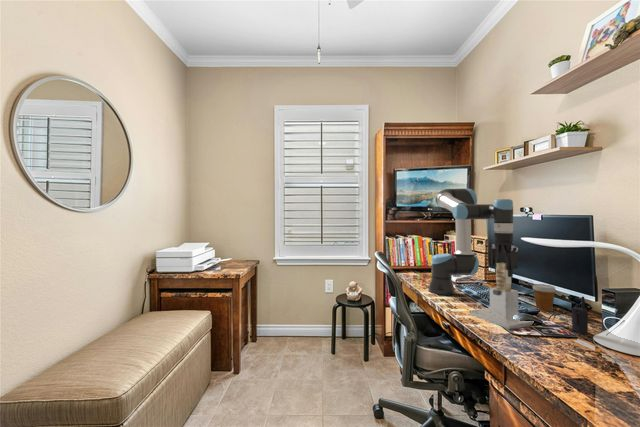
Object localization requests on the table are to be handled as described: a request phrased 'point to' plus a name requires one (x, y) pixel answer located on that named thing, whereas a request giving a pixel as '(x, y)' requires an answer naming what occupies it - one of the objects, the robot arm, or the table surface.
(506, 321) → the stand
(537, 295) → the disposable coffee cup
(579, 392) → the table surface
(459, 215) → the robot arm
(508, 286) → the post
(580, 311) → the two-way radio
